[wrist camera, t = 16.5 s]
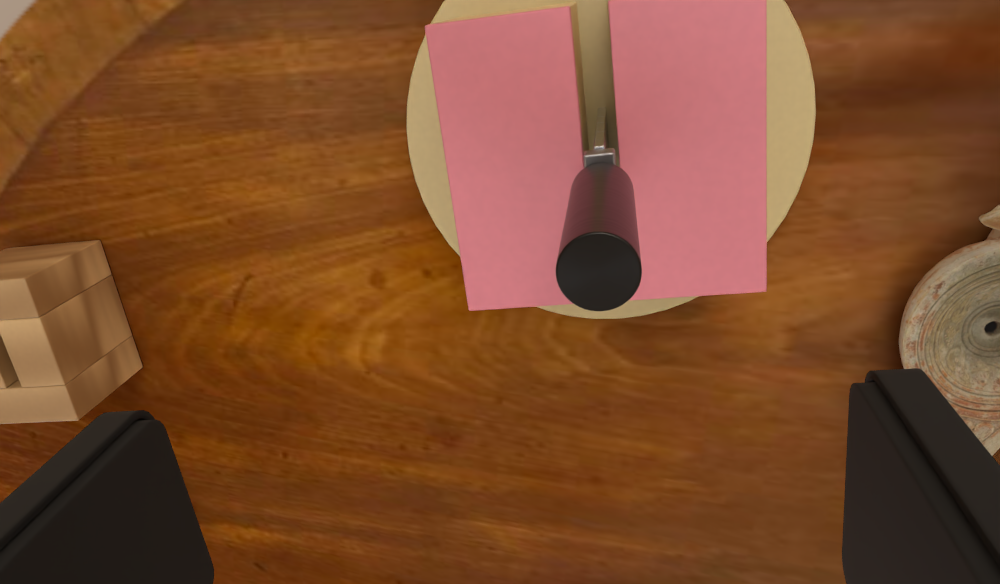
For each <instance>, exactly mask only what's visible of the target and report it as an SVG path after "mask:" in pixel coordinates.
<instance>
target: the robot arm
mask: <svg viewBox="0 0 1000 584" xmlns="http://www.w3.org/2000/svg"><path fill="white" fill-rule="evenodd" d="M842 562H843V570H844V575H845V579H846V583H847V584H1000V465H999V464H998V463H997V462H996V460H995V459H994V458H993V457H992V455H991V454H990V453H989V452H988V450H987V449H986V448H985V447H984V446H983V444H982V443H981V442H980V441H979V439H978V438H977V437H976V436H975V434H974V433H973V432H972V431H971V429H970V428H969V427H968V426H967V424H966V423H965V422H964V421H963V419H962V418H961V417H960V416H959V414H958V413H957V412H956V411H955V409H954V408H953V407H952V406H951V404H950V403H949V402H948V401H947V400H946V398H945V397H944V396H943V395H942V393H941V392H940V391H939V390H938V388H937V387H936V386H935V385H934V383H933V382H932V381H931V380H930V378H929V377H928V376H927V375H926V373H925V372H924V371H922V370H921V369H919V368H912V369H894V370H876V371H869V372H868V373H867V375H866V378H865V383H853V384H852V385H851V388H850V395H849V415H848V437H847V458H846V480H845V502H844V523H843V545H842ZM213 579H214V568H213V564H212V561H211V558H210V555H209V552H208V549H207V546H206V543H205V541H204V538H203V535H202V532H201V529H200V526H199V523H198V521H197V518H196V515H195V512H194V509H193V506H192V503H191V500H190V498H189V495H188V492H187V489H186V486H185V483H184V480H183V477H182V475H181V472H180V469H179V466H178V463H177V460H176V457H175V454H174V452H173V449H172V446H171V443H170V440H169V437H168V434H167V432H166V429H165V427H164V425H163V424H162V423H161V422H160V421H158V420H155V419H154V417H153V416H152V415H151V414H150V413H149V412H146V411H144V410H141V411H123V412H108V413H103V414H102V415H100V416H98V417H97V418H96V419H95V420H94V421H93V422H91V423H90V424H89V425H88V426H87V427H86V428H85V429H84V430H82V431H81V432H80V433H79V434H78V435H77V436H76V437H75V438H73V439H72V440H71V441H70V442H69V443H68V444H67V445H66V446H64V447H63V448H62V449H61V450H60V451H59V452H58V453H56V454H55V455H54V456H53V457H52V458H51V459H50V460H49V461H47V462H46V463H45V464H44V465H43V466H42V467H41V468H40V469H38V470H37V471H36V472H35V473H34V474H33V475H32V476H31V477H29V478H28V479H27V480H26V481H25V482H24V483H23V484H22V485H20V486H19V487H18V488H17V489H16V490H15V491H14V492H13V493H11V494H10V495H9V496H8V497H7V498H6V499H5V500H3V501H2V502H1V503H0V584H213Z"/></svg>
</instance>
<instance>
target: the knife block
mask: <svg viewBox="0 0 1000 584" xmlns="http://www.w3.org/2000/svg"><path fill="white" fill-rule="evenodd" d="M142 367H143V366H142V363H141V360H140V357H139V354H138V351H137V348H136V345H135V342H134V339H133V336H132V333H131V330H130V327H129V324H128V321H127V318H126V315H125V312H124V309H123V306H122V303H121V300H120V297H119V294H118V291H117V288H116V285H115V282H114V279H113V276H112V275H111V271H110V268H109V265H108V262H107V259H106V256H105V253H104V250H103V247H102V244H101V241H100V240H93V241H82V242H71V243H60V244H48V245H37V246H26V247H15V248H6V249H4V250H2V251H0V424H8V423H31V422H54V421H77V420H79V419H81V418H82V417H83V416H84V415H85V414H87V413H88V412H89V411H90V410H91V409H93V408H94V407H95V406H96V405H97V404H99V403H100V402H101V401H102V400H104V399H105V398H106V397H107V396H108V395H110V394H111V393H112V392H113V391H114V390H116V389H117V388H118V387H119V386H121V385H122V384H123V383H124V382H125V381H127V380H128V379H129V378H130V377H131V376H133V375H134V374H135V373H136V372H138V371H139V370H140V369H141V368H142Z"/></svg>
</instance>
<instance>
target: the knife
mask: <svg viewBox="0 0 1000 584" xmlns="http://www.w3.org/2000/svg"><path fill="white" fill-rule="evenodd" d="M583 160H584V169H582V170H581V171H580V172H579V173H578V174H577V176H576V177H575V179H574V181H573V183H572V187H571V191H570V196H569V201H568V207H567V212H566V217H565V222H564V227H563V232H562V237H561V242H560V248H559V253H558V258H557V263H556V279H557V283H558V286H559V288H560V290H561V291H562V293H563V294H564V296H565V297H566V298H567V299H568V300H569V301H570V302H572V303H573V304H575V305H576V306H578V307H580V308H583V309H585V310H590V311H608V310H612V309H615V308H618V307H620V306H621V305H623V304H625V303H626V302H627V301H628V300H630V299H631V298H632V296H633V295H634V294H635V292H636V291H637V289H638V287H639V285H640V282H641V277H642V265H641V255H640V246H639V236H638V227H637V217H636V208H635V198H634V189H633V184H632V181H631V179H630V177H629V176H628V174H627V173H626V172H625V171H624V170H623V169H621V168H620V167H618V166H616V157H615V150H614V149H613V148H609V136H608V123H607V110H606V107H601V108H598V111H597V120H596V129H595V138H594V150H588V151H585V152H584V156H583Z"/></svg>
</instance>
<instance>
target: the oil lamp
mask: <svg viewBox="0 0 1000 584" xmlns="http://www.w3.org/2000/svg"><path fill="white" fill-rule="evenodd" d="M979 220H980V222H981V223H983V224H984V225H985V226H988V227H990V228H993V229H992V231H991V232H990V234H989V236H988V237H987V239H986V240H985V241H983V242H978V243H974V244H970V245H967V246H965V247H963V248H960V249H958V250H956V251H954V252H953V253H951V254H949V255H948V256H946V257H945V258H944V259H942V260H941V261H940V262H938V263H937V264H936V265H935V266H934V267H933V268H932V269H931V270H929V271H928V272H927V273H926V274H925V275H924V277H923V278H922V279H921V280H920V282H919V283H918V284H917V285H916V287H915V288H914V290H913V292H912V294H911V296H910V297H909V299H908V302H907V304H906V307H905V309H904V313H903V316H902V320H901V327H900V334H899V349H900V356H901V361H902V364H903V367H904V369H912V368H919V369H921V370H922V371H924V372H925V373H926V375H927V376H928V377H929V378H930V380H931V381H932V382H933V383H934V385H935V386H936V387H937V388H938V390H939V391H940V392H941V393H942V395H943V396H944V397H945V398H946V400H947V401H948V402H949V403H950V404H951V406H952V407H953V408H954V409H955V411H956V412H957V413H958V414H959V416H960V417H961V418H962V419H963V421H964V422H965V423H966V424H967V426H968V427H969V428H970V429H971V431H972V432H973V433H974V434H975V436H976V437H977V438H978V439H979V441H980V442H981V443H982V444H983V446H984V447H985V448H986V449H987V450H988V452H989V453H990V454H991V455H992V456H993V455H994V453H995V452H996V451H997V450H998V449H999V448H1000V205H998V206H997V207H995V208H994V209H993V210H992V211H990V212H988V213H986V214H984V215H981V216H980V217H979Z"/></svg>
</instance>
